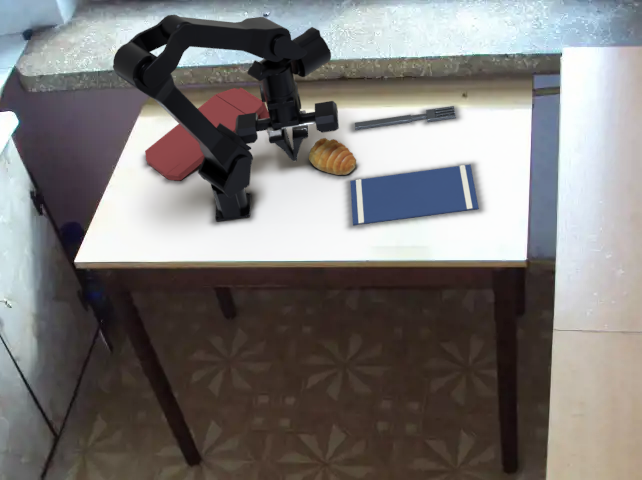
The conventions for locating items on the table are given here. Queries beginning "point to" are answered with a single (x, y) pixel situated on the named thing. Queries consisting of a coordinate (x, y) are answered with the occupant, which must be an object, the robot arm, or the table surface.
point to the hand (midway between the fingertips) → (294, 159)
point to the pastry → (332, 157)
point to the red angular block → (183, 150)
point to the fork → (410, 118)
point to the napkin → (413, 194)
